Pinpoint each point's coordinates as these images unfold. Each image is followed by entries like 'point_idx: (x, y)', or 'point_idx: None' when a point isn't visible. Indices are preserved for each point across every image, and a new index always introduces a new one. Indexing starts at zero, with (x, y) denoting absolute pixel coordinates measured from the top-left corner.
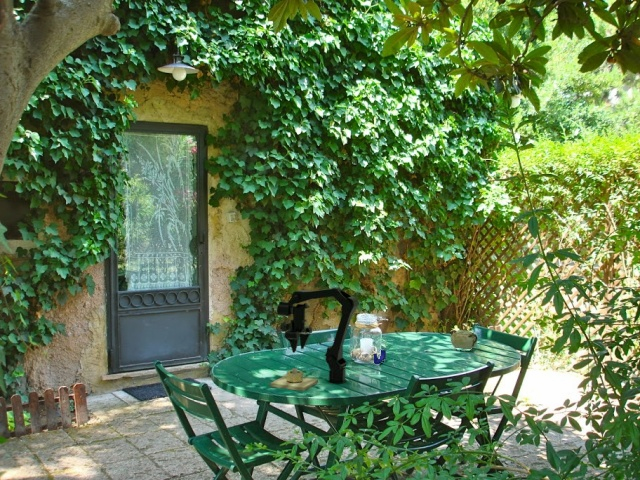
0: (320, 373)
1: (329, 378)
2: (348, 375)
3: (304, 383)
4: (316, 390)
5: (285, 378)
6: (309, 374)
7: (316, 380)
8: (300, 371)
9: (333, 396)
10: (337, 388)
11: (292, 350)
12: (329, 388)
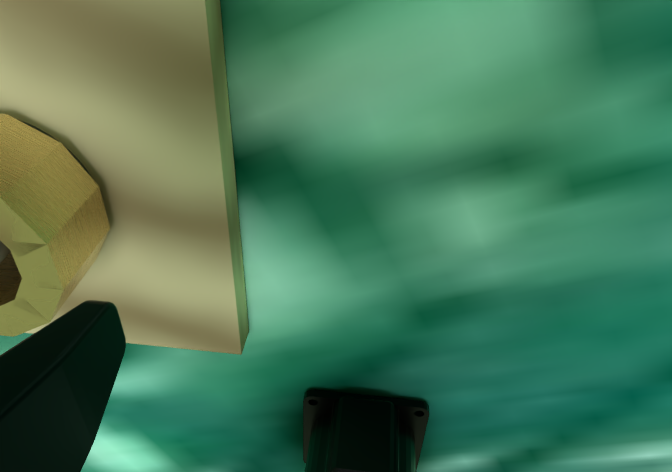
0: (636, 271)
1: (338, 408)
2: (599, 459)
3: None
4: None
5: (34, 48)
6: (554, 180)
7: (200, 348)
8: (37, 302)
9: None
10: (181, 449)
11: (37, 340)
12: (146, 416)
